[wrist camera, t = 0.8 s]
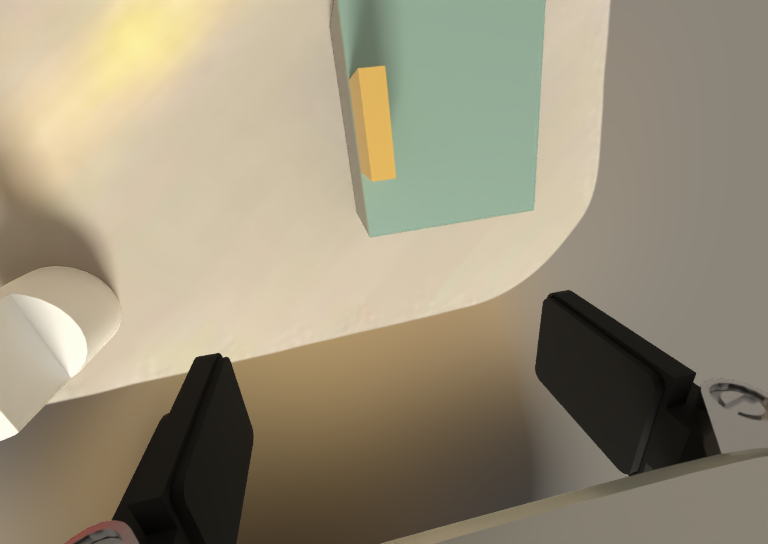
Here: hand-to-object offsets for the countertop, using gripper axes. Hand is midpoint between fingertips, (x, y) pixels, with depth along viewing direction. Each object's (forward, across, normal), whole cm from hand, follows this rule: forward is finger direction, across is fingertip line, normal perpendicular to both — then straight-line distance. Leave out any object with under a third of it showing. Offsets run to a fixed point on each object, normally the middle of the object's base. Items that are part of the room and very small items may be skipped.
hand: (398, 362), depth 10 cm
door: (+20, -9, -6) cm, 23 cm away
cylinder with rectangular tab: (+27, +27, +8) cm, 39 cm away
